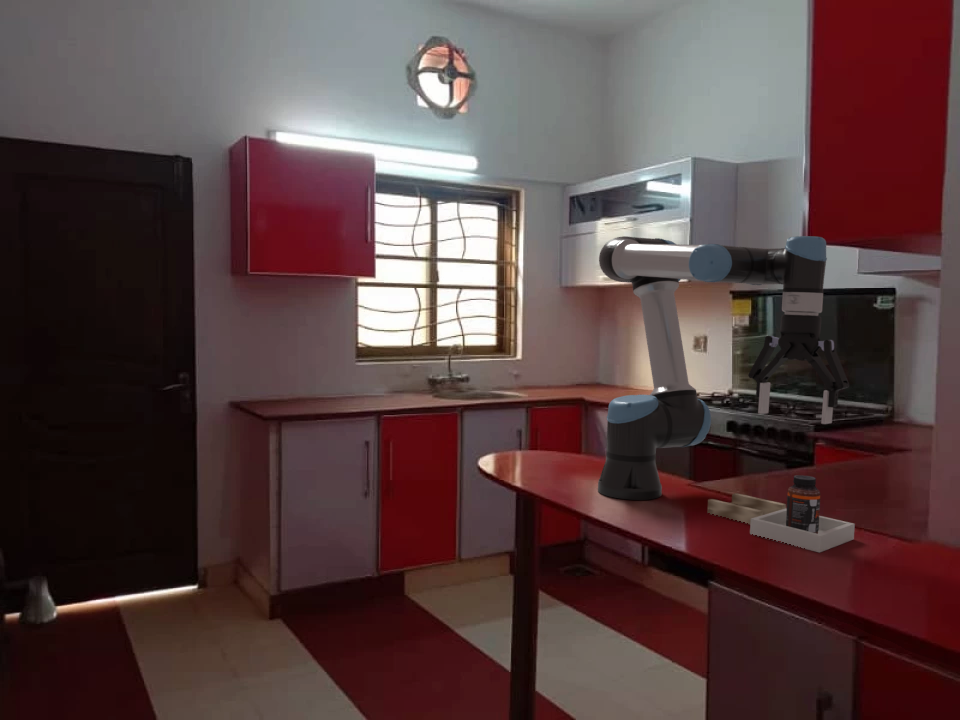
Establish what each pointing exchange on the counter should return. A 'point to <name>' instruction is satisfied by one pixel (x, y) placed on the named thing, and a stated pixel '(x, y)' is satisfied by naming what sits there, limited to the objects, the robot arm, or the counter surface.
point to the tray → (802, 531)
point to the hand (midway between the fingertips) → (793, 418)
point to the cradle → (743, 507)
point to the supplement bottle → (803, 504)
